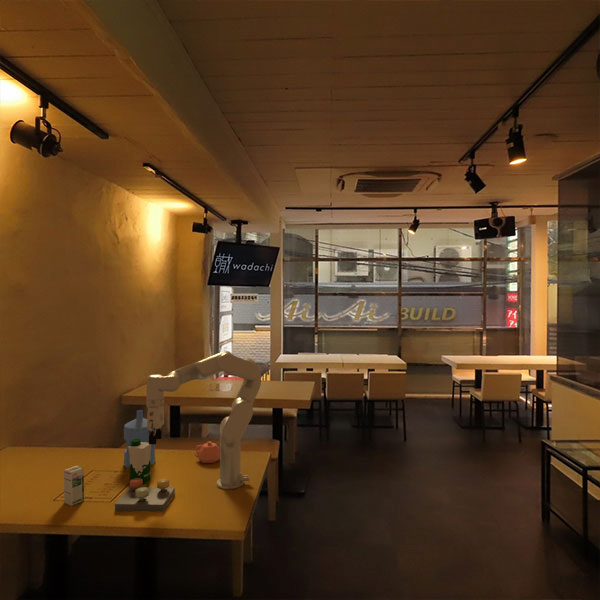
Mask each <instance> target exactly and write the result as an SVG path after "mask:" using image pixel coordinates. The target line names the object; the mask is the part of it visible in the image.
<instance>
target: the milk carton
mask: <svg viewBox="0 0 600 600" xmlns="http://www.w3.org/2000/svg"><path fill="white" fill-rule="evenodd" d="M128 449H129V454H130V468H129V481H128V486H130V480H132V479H135V478H141V479H142V480H143V485H142V487H145V485H146V484H147V483H149V482H150V481H151V465H150V453H151V444H149V443H147V442H140V439H134V440H132V442H131V446H129V447H128Z"/></svg>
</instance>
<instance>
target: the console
mask: <svg viewBox="0 0 600 600" xmlns="http://www.w3.org/2000/svg"><path fill="white" fill-rule="evenodd" d="M146 487H147V488H148V489H149V495H148V496H147V497H145V498H144V502H140V498H136V492H134V489H132V488H130V487H129V488H128V489H127V490H126V491H125V492H124V494H122V495H121V497H119V499H118V500H117V501H116V502H115V504H114V512H136V511H138V512H146V513H151V512H152V513H154V512H155V513H163V512H164V511H165V510H166V508H167V507H168V505H169V504H170V502H171V501H172V499H173V498H174V496H175V494H176V490H175V489H176V488H175V487H170V486H169V487H168V488H165V492H161V489H158V488H157V486H146ZM140 488H141V487H140Z"/></svg>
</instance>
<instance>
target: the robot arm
mask: <svg viewBox="0 0 600 600" xmlns="http://www.w3.org/2000/svg"><path fill="white" fill-rule="evenodd" d="M222 372H223V373H226V374H228V375H230V376H234V377H236V378H240V379H243V381H242V384H241V385H240V388H239V390H238V392H237V394H236V396H235V398H234V400H233V401H232V403H231V408H230V409H231V412H230V414H229V415H228V416H225V417H224V418H223V419H222V420H221V422H220V424H219V443H220V444H219V449H220V459H219V467H220V468H219V469H220V470H219V476H220V477H219V479H217V481H216V486H217V488H219V489H223V490H224V489H225V490H233V489H238V488H241V487H242V486H243V485H244V483H245V482H250V480H251V479H250V476H249V475H248V474H246V475H245V474H244V475H243V472H242V471H241V450H242V449H241V447H242V446H241V443H242V441H241V439H242V437H243V436H244V433H245V432H246V430H247V427H248V425H249V423H250V422H251V420H252V418H253V415H254V407H253V405H254V401H255V400H256V398H257V395H258V393H259V391H260V388H261V385H262V374H261V370H260V367H259V365H258V364H257V362H256V361H255V360H254V359H251V358H245V359H244V358H241V357H238V356H236V355H234V354H233V353H232V352H231V351H228V350H224V351H221V352H219V353H216V354H214V355H211V356H209V357H206V358H203V359H201V360H199V361H196V362H192V363H190V364H188V365H185V366H182V367H180V368H177V369H175V370H173V371H171V372H169V373H167V375H166V376H163V375H162V374H150V375H148V376H147V377H146V407H147V414H146V415H147V416H146V419H147V428H148V433H149V444H155V445H157V440H161V439H162V437H163V436H162V433H163V432H162V429H163V428H162V426H163V425H164V424H165V409H164V408H165V407H164V405H165V392H168V393H174V392H177V391H178V390H179V389H180V387H181V385H183V384H186V383H188V382H191V381H195V380H206V379H207V378H210V377H212V376H215V375H217V374H219V373H222ZM152 427H154V428H152ZM152 430H154V432H153V431H152Z"/></svg>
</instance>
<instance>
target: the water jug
mask: <svg viewBox="0 0 600 600" xmlns="http://www.w3.org/2000/svg"><path fill="white" fill-rule="evenodd" d="M143 411H144V410H143V409H138V410H136V418H135V419H133V420H131V421H128V422H127V423H125V424H124V426H123V439H124V441H125V442H126V449H125V450H124V451H123V465H124V467H125V468H127V469H130V454H129V449H128V447H129V446H131V442H132V440H134V439H140V442H147V443H149V433H148V428H147V418H144V413H143ZM152 428H154V427H152ZM152 431H153V432H154V430H152ZM154 463H156V444H151V453H150V466H152V465H154Z"/></svg>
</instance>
